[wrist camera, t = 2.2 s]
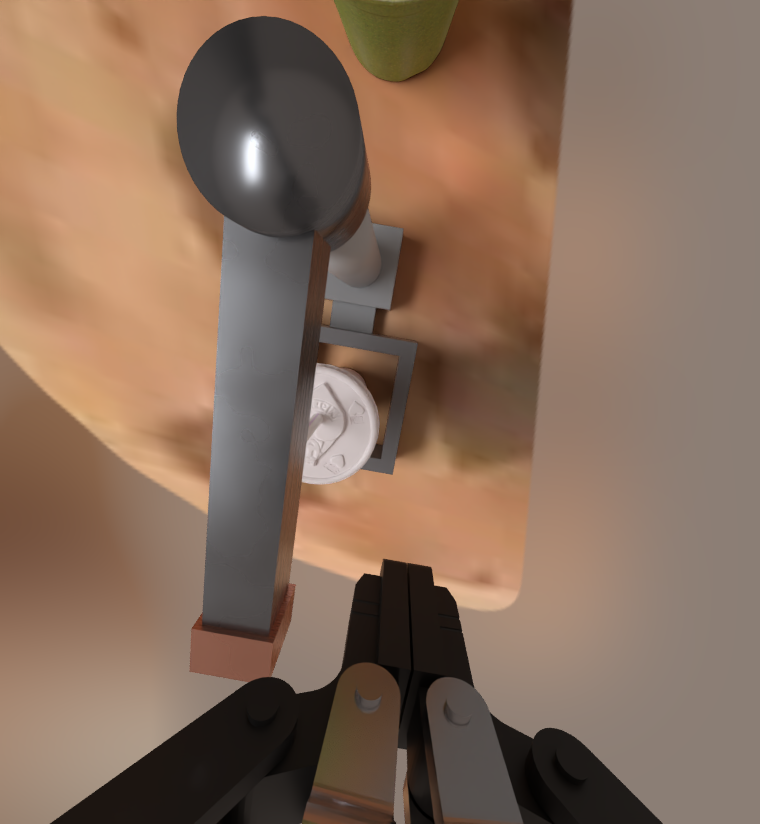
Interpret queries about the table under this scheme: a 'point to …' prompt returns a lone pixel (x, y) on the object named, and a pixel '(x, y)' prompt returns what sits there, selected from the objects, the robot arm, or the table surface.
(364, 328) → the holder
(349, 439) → the smoothie
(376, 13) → the plant pot
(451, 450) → the table surface
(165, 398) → the table surface
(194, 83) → the joystick lever
